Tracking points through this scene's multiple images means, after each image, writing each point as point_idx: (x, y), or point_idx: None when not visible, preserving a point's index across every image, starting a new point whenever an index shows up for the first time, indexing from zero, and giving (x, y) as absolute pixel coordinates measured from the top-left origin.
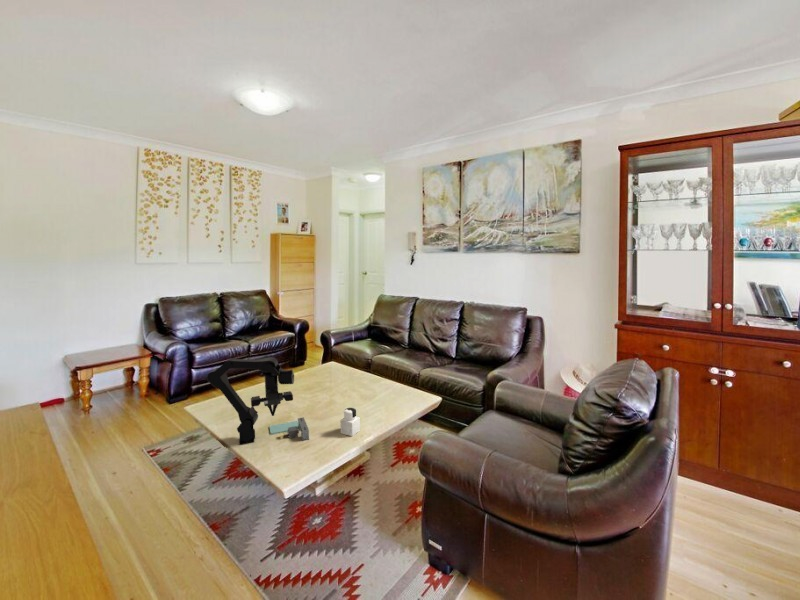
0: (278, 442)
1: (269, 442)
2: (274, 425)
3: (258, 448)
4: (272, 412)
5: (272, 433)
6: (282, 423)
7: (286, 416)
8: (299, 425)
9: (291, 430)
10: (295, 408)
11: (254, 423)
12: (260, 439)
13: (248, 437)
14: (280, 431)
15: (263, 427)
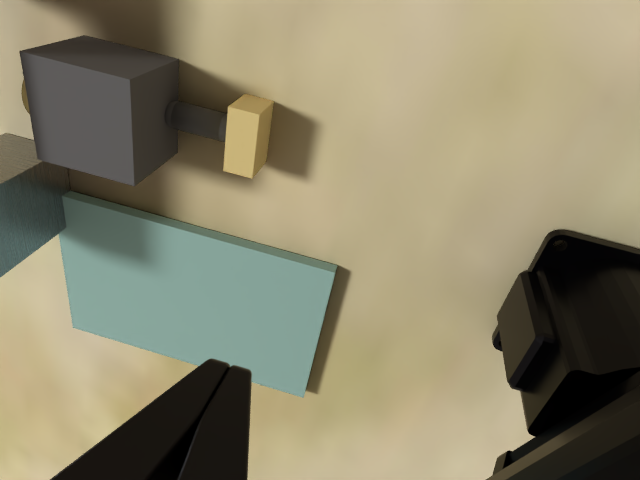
0: (318, 35)
1: (411, 109)
2: (261, 374)
3: (598, 38)
4: (195, 447)
5: (318, 265)
6: (192, 361)
7: None
8: (11, 173)
9: (98, 89)
10: None
11: (626, 411)
12: (465, 240)
13: (630, 292)
14: (237, 247)
15: (351, 408)
